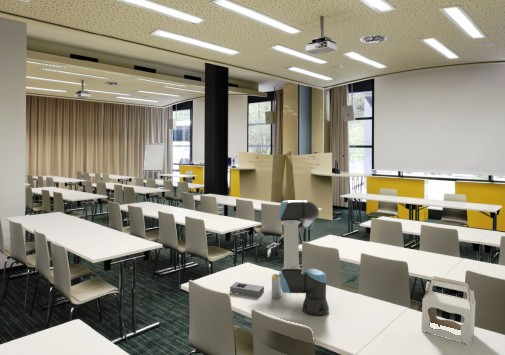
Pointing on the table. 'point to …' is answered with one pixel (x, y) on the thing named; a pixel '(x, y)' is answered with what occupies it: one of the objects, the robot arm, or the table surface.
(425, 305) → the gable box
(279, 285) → the steel peg
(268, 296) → the table surface
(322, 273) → the robot arm
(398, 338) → the table surface
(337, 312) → the table surface
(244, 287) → the grey rectangular block
